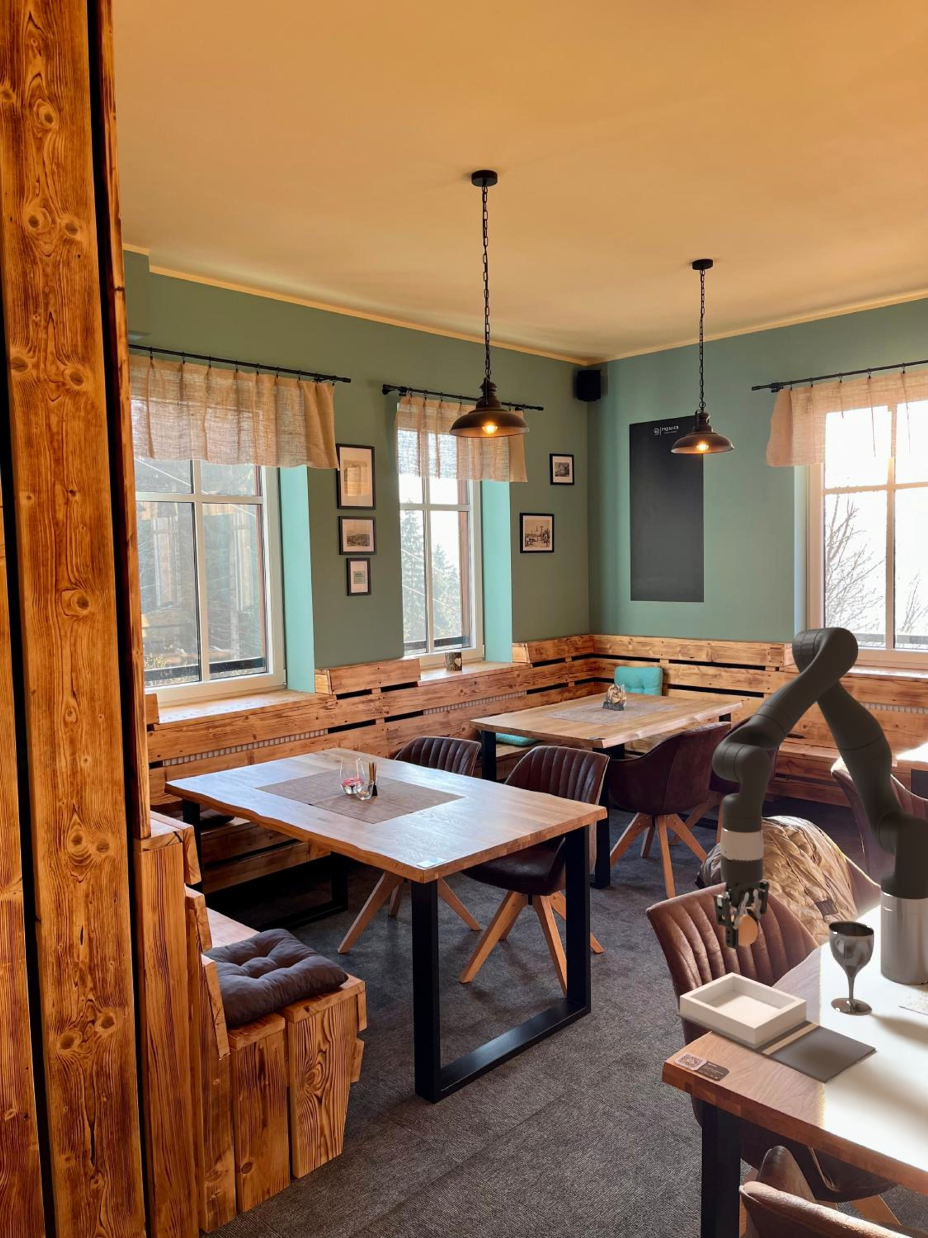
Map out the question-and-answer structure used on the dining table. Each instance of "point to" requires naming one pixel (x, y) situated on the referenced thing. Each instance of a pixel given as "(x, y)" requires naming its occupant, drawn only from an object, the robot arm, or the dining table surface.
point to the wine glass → (851, 959)
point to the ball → (746, 930)
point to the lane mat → (811, 1050)
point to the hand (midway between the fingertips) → (742, 942)
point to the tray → (743, 1009)
